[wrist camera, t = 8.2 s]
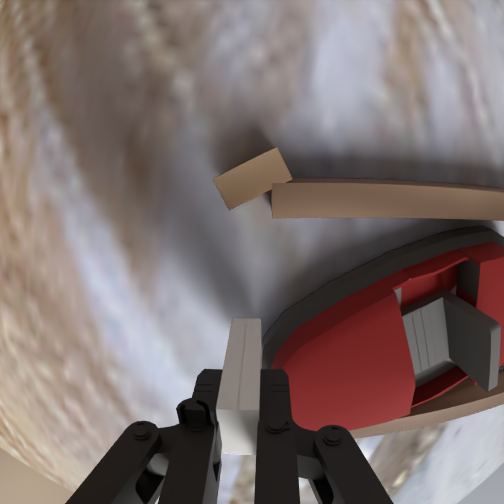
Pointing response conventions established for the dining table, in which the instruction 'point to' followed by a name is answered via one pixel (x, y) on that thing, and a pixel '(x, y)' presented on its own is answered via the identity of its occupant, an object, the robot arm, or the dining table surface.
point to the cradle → (374, 206)
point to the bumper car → (394, 332)
